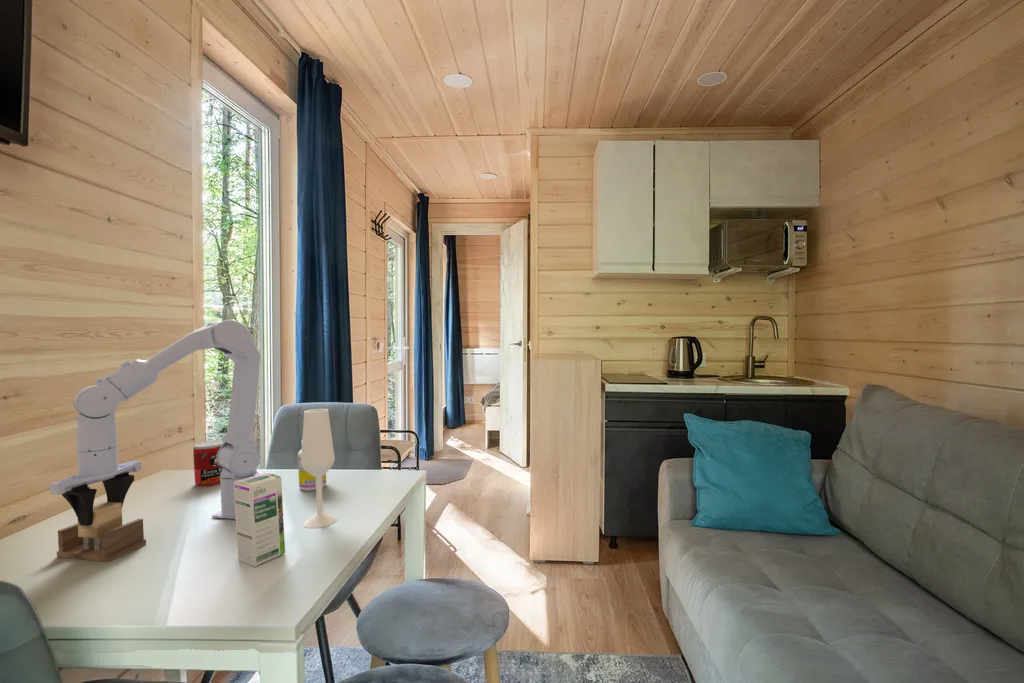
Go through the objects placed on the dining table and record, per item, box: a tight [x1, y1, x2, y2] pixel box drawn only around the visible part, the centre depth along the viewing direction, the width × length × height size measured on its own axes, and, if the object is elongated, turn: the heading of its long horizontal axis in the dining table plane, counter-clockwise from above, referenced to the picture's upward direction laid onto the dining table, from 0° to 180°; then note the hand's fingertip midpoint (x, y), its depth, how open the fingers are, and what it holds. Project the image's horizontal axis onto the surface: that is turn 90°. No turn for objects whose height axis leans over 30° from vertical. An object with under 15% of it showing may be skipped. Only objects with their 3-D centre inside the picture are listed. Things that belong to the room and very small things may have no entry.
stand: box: [56, 518, 147, 563], centre depth 88 cm, size 12×7×5 cm, turn 78°
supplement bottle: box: [297, 439, 327, 492], centre depth 122 cm, size 7×7×13 cm
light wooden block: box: [77, 501, 123, 538], centre depth 88 cm, size 4×4×5 cm
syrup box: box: [234, 472, 286, 568], centre depth 83 cm, size 6×6×14 cm
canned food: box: [192, 439, 223, 488], centre depth 128 cm, size 8×8×11 cm
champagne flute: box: [301, 408, 337, 529], centre depth 99 cm, size 7×7×24 cm
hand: (101, 519), depth 88 cm, fingers closed on light wooden block, 4 cm apart
